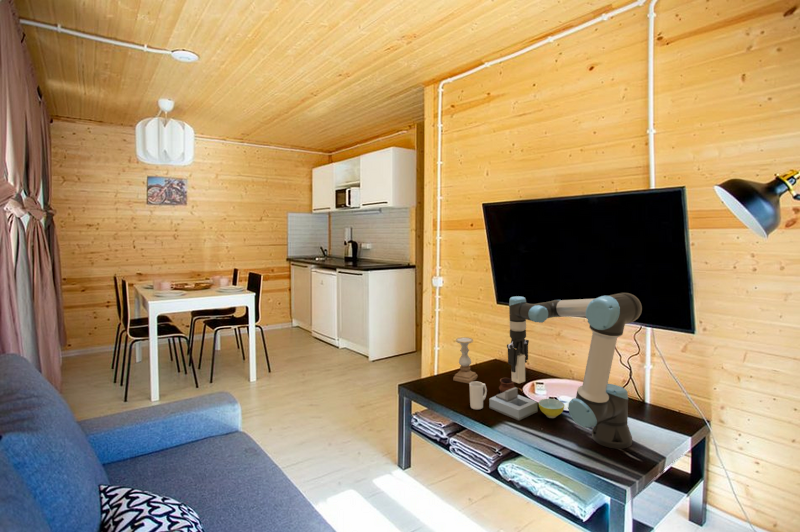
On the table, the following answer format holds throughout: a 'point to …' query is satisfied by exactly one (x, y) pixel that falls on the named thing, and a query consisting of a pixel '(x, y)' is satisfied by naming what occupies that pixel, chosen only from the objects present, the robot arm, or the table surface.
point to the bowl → (551, 407)
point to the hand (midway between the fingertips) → (518, 376)
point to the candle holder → (465, 363)
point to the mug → (477, 394)
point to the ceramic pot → (506, 384)
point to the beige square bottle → (520, 368)
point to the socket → (514, 407)
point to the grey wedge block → (508, 394)
